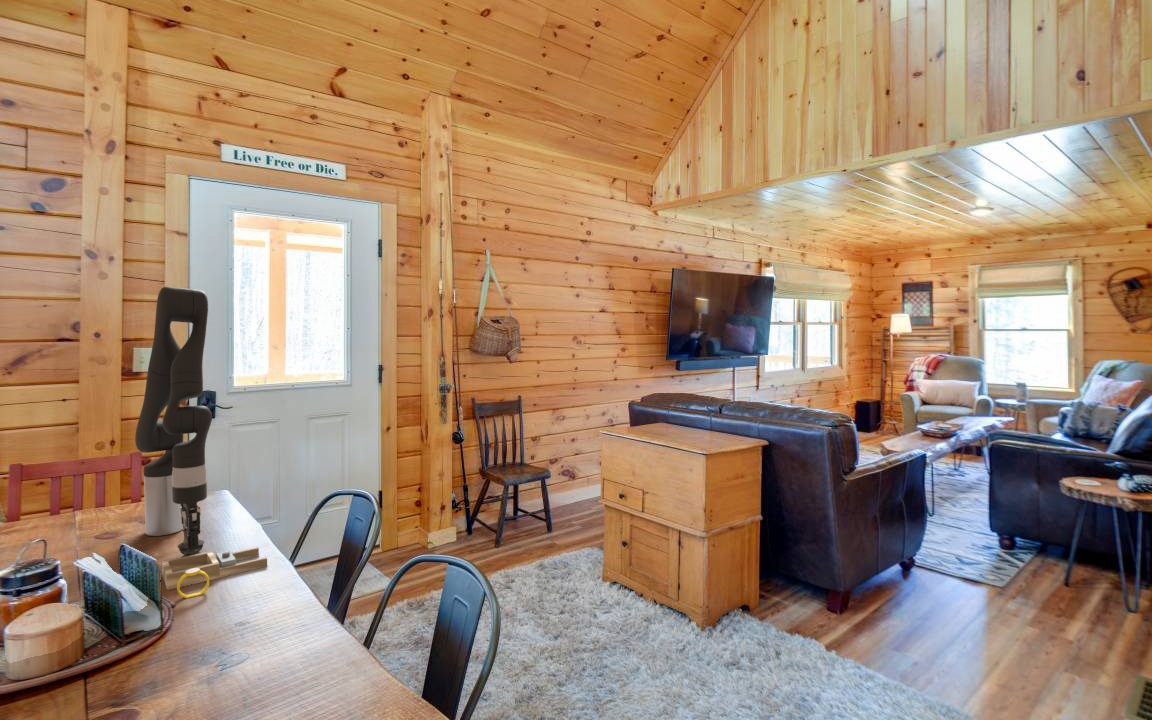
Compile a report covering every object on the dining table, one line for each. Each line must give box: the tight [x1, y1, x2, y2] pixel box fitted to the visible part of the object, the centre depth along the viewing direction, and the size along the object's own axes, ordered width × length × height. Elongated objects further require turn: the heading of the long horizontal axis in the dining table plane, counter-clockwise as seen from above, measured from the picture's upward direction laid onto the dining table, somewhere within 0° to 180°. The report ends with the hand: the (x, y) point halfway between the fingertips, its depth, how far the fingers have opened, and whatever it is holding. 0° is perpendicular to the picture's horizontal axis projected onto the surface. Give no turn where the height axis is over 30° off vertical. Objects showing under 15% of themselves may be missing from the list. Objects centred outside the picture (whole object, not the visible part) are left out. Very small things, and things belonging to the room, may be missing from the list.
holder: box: [161, 546, 268, 591], centre depth 142 cm, size 10×21×4 cm, turn 131°
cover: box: [216, 550, 237, 568], centre depth 144 cm, size 7×3×4 cm, turn 41°
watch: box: [176, 568, 210, 599], centre depth 129 cm, size 6×3×6 cm, turn 128°
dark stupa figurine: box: [177, 526, 205, 558], centre depth 150 cm, size 6×6×12 cm
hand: (191, 545), depth 150 cm, fingers closed on dark stupa figurine, 6 cm apart
